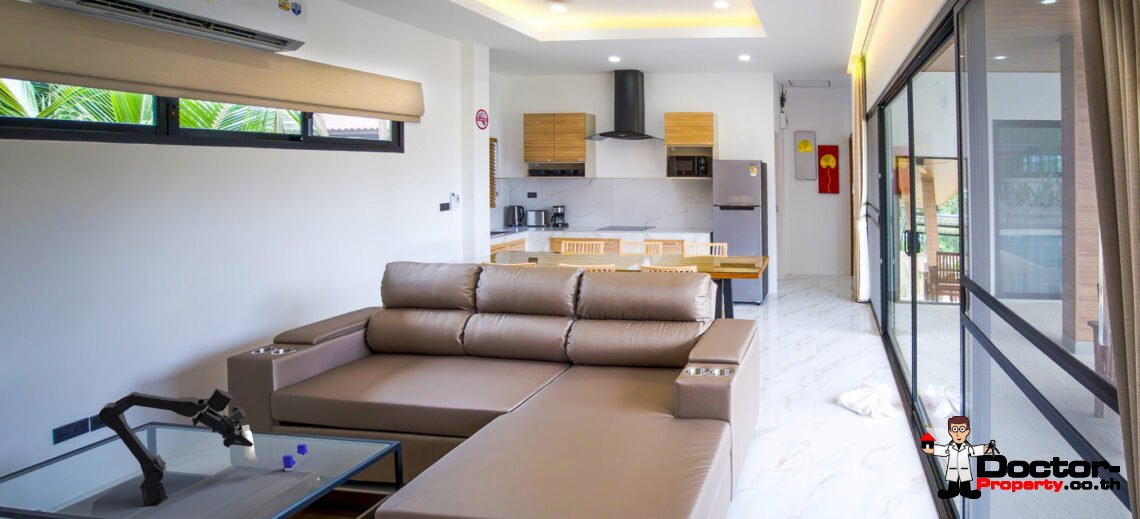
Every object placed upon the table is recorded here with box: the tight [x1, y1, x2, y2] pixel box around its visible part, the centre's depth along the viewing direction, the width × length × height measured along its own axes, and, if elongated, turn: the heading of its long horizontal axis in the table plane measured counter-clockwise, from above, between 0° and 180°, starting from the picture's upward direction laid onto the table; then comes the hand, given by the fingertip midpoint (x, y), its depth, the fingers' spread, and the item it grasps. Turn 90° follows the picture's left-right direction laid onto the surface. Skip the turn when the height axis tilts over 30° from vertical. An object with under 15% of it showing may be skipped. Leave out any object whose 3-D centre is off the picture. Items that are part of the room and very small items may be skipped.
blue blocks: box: [282, 443, 308, 469], centre depth 297 cm, size 12×4×6 cm, turn 169°
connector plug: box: [242, 424, 258, 466], centre depth 285 cm, size 4×4×14 cm
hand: (252, 443), depth 286 cm, fingers closed on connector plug, 3 cm apart
